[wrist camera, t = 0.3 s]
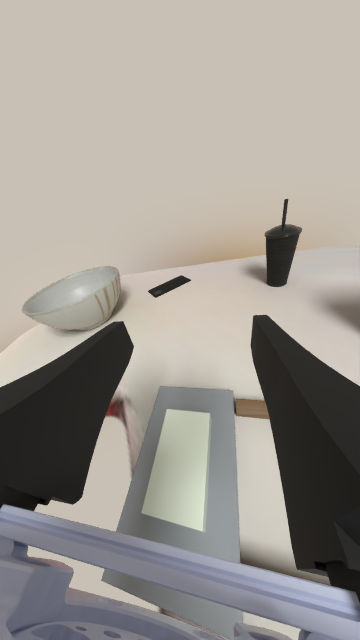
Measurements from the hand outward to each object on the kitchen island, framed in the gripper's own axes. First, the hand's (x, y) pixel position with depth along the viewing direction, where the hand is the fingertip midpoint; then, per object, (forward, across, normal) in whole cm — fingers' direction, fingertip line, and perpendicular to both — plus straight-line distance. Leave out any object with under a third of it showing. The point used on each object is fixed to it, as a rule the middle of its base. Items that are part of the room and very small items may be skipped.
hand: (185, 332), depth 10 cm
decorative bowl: (+34, +38, +21) cm, 56 cm away
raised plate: (0, +3, +21) cm, 21 cm away
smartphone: (+50, +15, +20) cm, 56 cm away
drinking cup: (+42, -18, +18) cm, 49 cm away
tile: (0, +3, +20) cm, 20 cm away
